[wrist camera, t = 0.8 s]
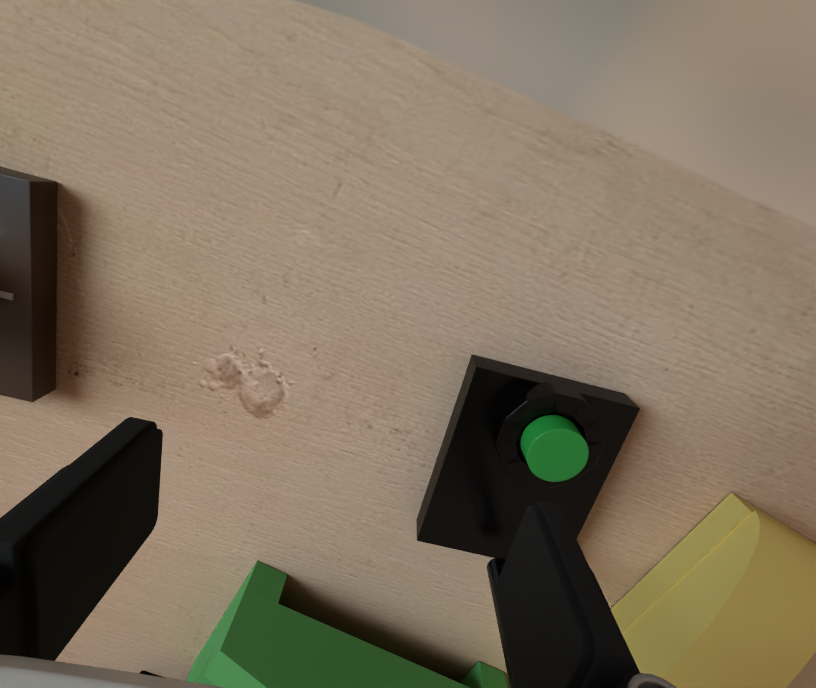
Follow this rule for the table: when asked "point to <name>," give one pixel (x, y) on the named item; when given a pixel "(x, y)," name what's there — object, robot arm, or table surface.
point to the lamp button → (554, 448)
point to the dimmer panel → (27, 285)
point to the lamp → (493, 574)
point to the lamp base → (514, 456)
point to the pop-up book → (727, 605)
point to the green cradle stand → (305, 650)
